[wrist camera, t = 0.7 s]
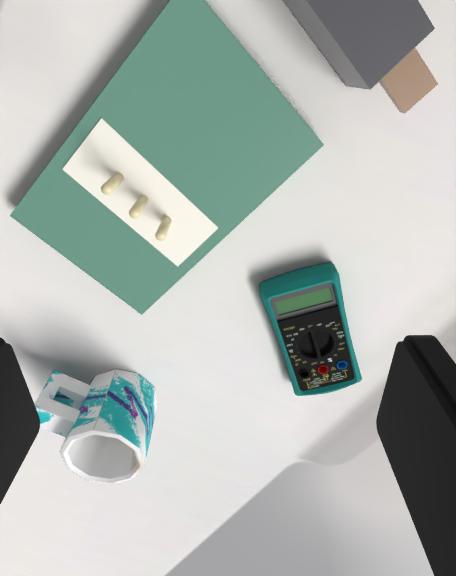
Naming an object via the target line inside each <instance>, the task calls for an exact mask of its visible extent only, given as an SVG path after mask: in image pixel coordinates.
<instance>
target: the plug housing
mask: <svg viewBox="0 0 456 576" xmlns="http://www.w3.org/2000/svg"><path fill="white" fill-rule="evenodd" d="M283 1H284V3H285V4H286V6H287V7H288V8H289V10H290V11H291V12H292V14H293V15H294V16H295V18H296V19H297V20H298V22H299V23H300V24H301V26H302V27H303V28H304V30H305V31H306V32H307V34H308V35H309V37H310V38H311V39H312V41H313V42H314V43H315V45H316V46H317V47H318V49H319V50H320V51H321V53H322V54H323V55H324V57H325V58H326V59H327V61H328V62H329V63H330V65H331V66H332V68H333V69H334V70H335V72H336V73H337V74H338V76H339V77H340V78H341V80H342V81H343V82H344V84H345V85H346V86H349V87H356V88H363V89H371V88H372V87H373V86H374V85H376V84H377V83H378V82H379V83H380V84H381V86H382V87H383V88H384V90H385V91H386V93H387V94H388V96H389V97H390V98H391V100H392V101H393V103H394V104H395V106H396V107H397V108H398V110H399V111H400V112H402V113H406V112H407V111H408V110H409V109H410V108H411V107H413V106H414V105H415V104H416V103H417V102H418V101H419V100H421V99H422V98H423V97H424V96H425V95H426V94H427V93H428V92H430V91H431V90H432V89H433V88H434V87H435V86H436V85H437V84H438V83H437V81H436V80H435V78H434V77H433V75H432V74H431V72H430V70H429V69H428V67H427V66H426V64H425V62H424V61H423V59H422V58H421V56H420V55H419V53H418V51H417V50H416V48H415V47H416V46H417V45H418V44H419V43H420V42H421V41H422V40H423V39H424V38H425V37H426V36H427V35H428V34H429V33H430V32H432V31H433V30H434V29H435V28H434V26H433V25H432V23H431V21H430V20H429V18H428V16H427V15H426V13H425V11H424V10H423V8H422V6H421V5H420V3H419V1H418V0H283Z"/></svg>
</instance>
